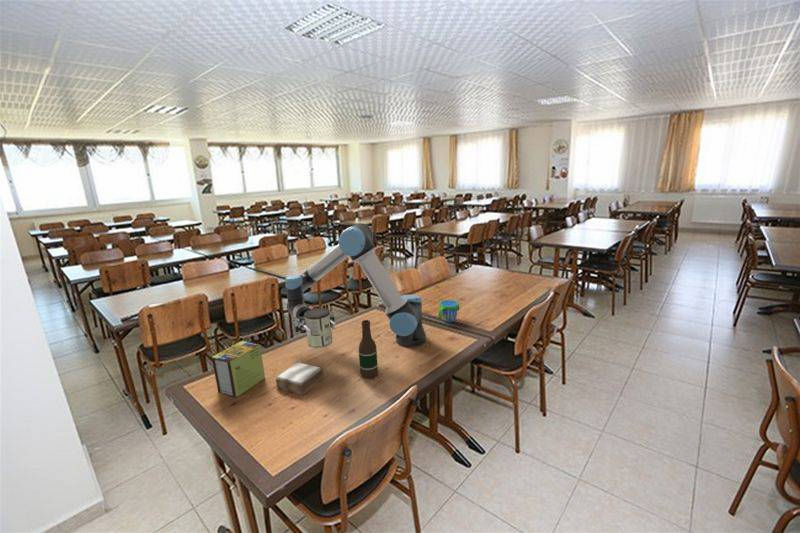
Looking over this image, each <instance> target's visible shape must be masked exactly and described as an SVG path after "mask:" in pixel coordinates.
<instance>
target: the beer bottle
mask: <svg viewBox="0 0 800 533" xmlns="http://www.w3.org/2000/svg"><path fill="white" fill-rule="evenodd" d="M360 323H361V324H360V325H361V326H362V327H361V331H362V332H361V333H362V334H361V337H362V338H361V340H360V341H359V344H358V357H359V360H358V361H359V371H360V373H359V374H360V377H361V378H363V379H364V380H372V379H375V378H376V377H378V376H379V375H378V374H379V370H378V369H379V366H378V354H377V353H378V352H377V351H378V350H377V344H376V342H375V340H374V339H373V337H372V332H371V321H370V320H368V319H363V320H362V321H361V322H360Z"/></svg>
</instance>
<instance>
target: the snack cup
mask: <svg viewBox="0 0 800 533" xmlns="http://www.w3.org/2000/svg"><path fill="white" fill-rule="evenodd" d="M438 306H439V309H438V314H437V316H438V318H439V319H441V320H442V321H443V322H445V323H453V322H455V321H456V320H457V315H458V312H459V311H460V303H459V302H458V301H457V300H454V299H445V300H442V301H439V304H438Z"/></svg>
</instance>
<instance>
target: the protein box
mask: <svg viewBox="0 0 800 533" xmlns="http://www.w3.org/2000/svg"><path fill="white" fill-rule="evenodd" d="M211 361H212V366H213V372H214V377H215V378H214V379H215V382H216V383H215V384H216V388H217V392H218V393H220V392H221V393H220V394H223V393H224V394H225V395H227V396H231V397H233V396H234V398H237V396H238V397H239V396H240V394H241V395H242V394H244V393H245V392H246V391H248V390H249V389H251V388H252V387H254V386H255V385H257V384H258V383H259V382H261V381H262V380H264V379H265V378H266V376H265V375H266V374H265V369H264V363H263V356H262V349H261V344H260V343H255V342H249V341H245V340H240V341H239V342H237V343H235V344H233V345H231V346H230V347H227V348H226V349H224V350H223V351H221V352H218V353H217V354H214V355H213V356H212V357H211ZM224 394H223V395H224Z"/></svg>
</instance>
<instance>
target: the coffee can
mask: <svg viewBox="0 0 800 533" xmlns="http://www.w3.org/2000/svg"><path fill="white" fill-rule="evenodd" d="M330 313H331V312H330V309H329V308H327V307H316V308H310V310H308V311H306V312H305V313H304V315H305V321H306V327H307V328H309V329H310V330H311V337H309V336H308V335H307V334H306V336H307V338H306V339H307V346H308V347H309V348H311V349H316V350H318V349H319V350H320V349H324V348H327V347H329V346H331V345H332V344H333V342H334V341H333V334H332V333H333V332H332V328H331V322H330V315H331V314H330Z"/></svg>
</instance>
